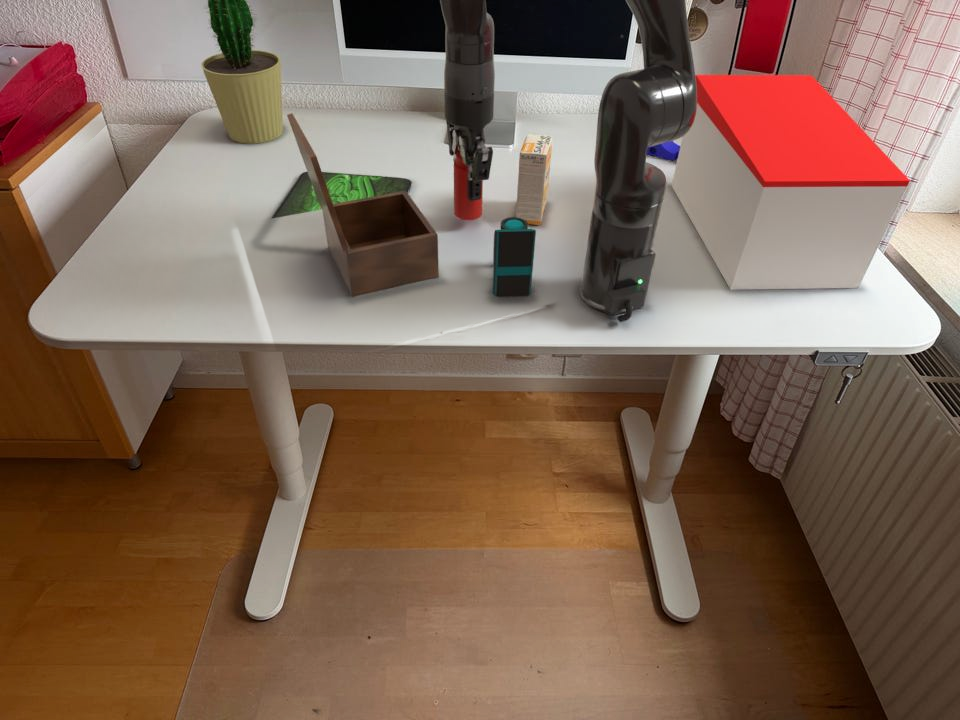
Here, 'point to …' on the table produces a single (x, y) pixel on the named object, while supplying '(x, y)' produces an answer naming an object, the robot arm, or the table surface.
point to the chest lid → (317, 181)
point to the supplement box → (533, 177)
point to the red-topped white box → (784, 183)
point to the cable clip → (665, 150)
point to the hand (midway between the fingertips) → (468, 191)
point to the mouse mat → (338, 191)
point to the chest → (383, 243)
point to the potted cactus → (243, 76)
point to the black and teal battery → (513, 258)
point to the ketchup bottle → (464, 192)
